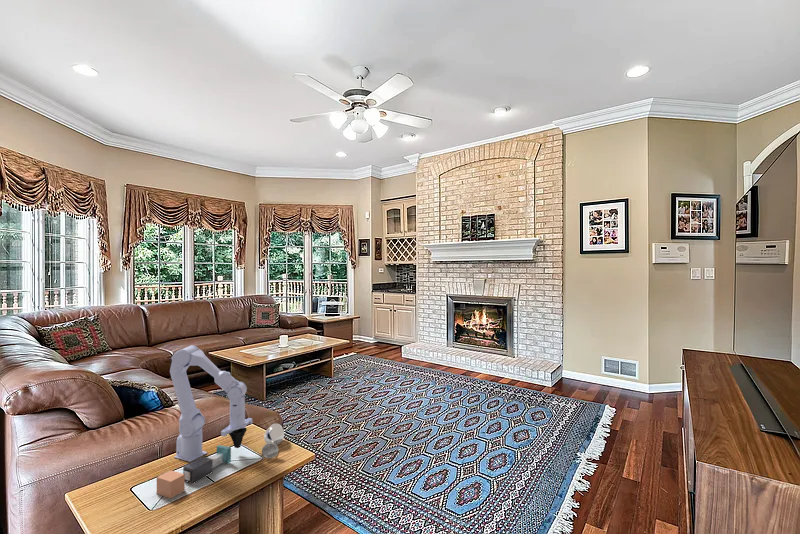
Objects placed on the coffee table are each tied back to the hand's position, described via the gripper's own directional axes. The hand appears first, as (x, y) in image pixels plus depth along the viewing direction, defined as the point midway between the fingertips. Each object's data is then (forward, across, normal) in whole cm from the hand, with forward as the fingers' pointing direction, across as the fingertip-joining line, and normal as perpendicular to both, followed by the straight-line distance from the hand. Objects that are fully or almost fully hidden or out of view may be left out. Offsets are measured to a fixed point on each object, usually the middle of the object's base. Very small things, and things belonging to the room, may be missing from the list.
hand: (237, 447), depth 155 cm
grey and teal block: (+3, -14, 0) cm, 15 cm away
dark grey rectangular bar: (+3, -18, 0) cm, 18 cm away
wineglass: (0, +3, -15) cm, 15 cm away
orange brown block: (+3, -28, 0) cm, 29 cm away
